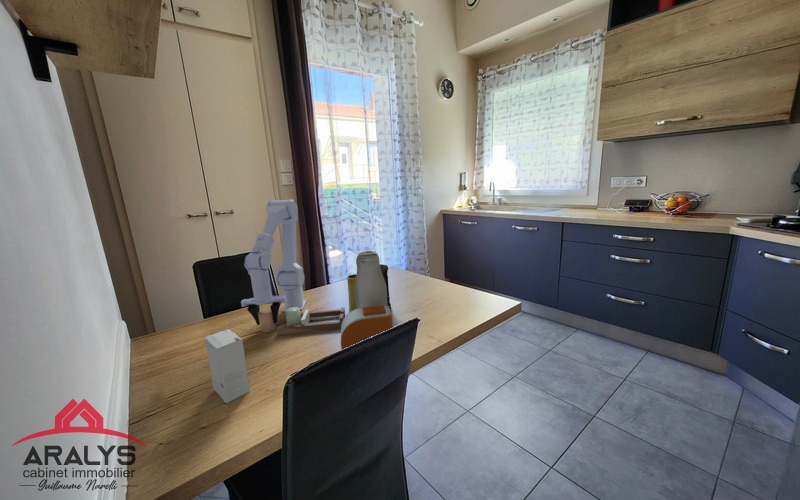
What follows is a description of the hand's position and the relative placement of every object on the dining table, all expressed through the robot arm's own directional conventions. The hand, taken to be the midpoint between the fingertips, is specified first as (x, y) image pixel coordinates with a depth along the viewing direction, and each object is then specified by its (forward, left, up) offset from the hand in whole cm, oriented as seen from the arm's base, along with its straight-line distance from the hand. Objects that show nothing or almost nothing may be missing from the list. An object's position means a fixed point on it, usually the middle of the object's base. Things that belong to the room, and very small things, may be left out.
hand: (267, 323), depth 107 cm
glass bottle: (+10, +37, -2) cm, 38 cm away
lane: (0, +15, -2) cm, 15 cm away
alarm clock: (+22, +35, -3) cm, 42 cm away
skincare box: (+33, +1, -2) cm, 33 cm away
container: (-6, +40, -2) cm, 41 cm away
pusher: (0, +20, -2) cm, 20 cm away
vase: (-9, +31, -2) cm, 33 cm away
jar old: (0, +9, -2) cm, 9 cm away
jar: (0, 0, -2) cm, 2 cm away
